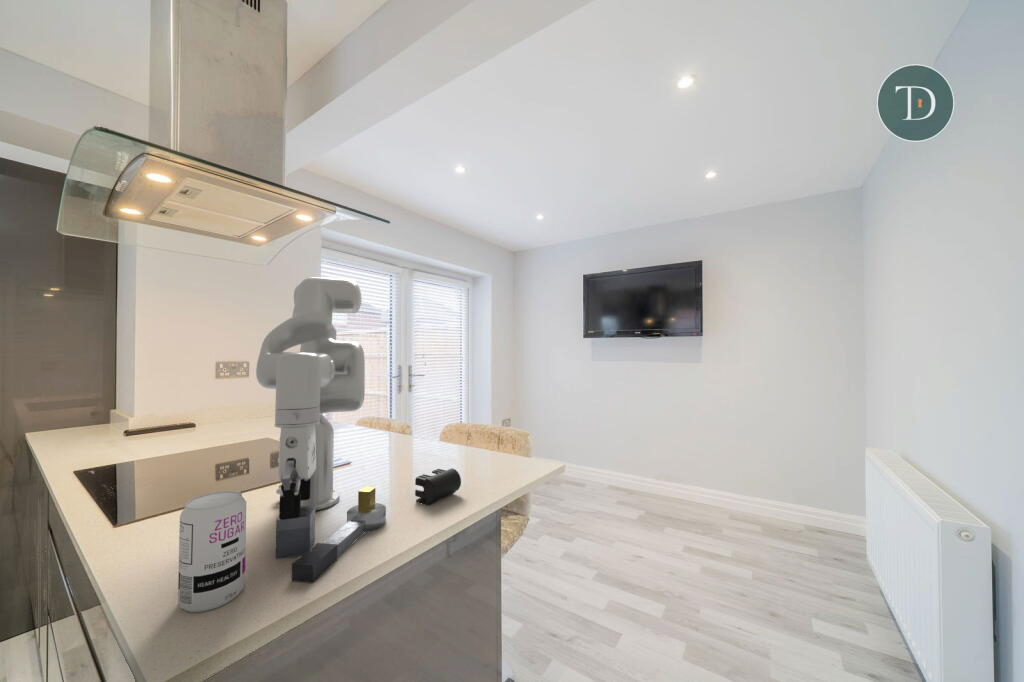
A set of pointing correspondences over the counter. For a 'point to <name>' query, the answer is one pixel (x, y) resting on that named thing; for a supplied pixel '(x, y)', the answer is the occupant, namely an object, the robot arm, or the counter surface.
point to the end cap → (437, 485)
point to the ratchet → (341, 537)
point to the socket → (295, 533)
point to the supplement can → (211, 550)
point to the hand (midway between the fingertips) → (295, 508)
